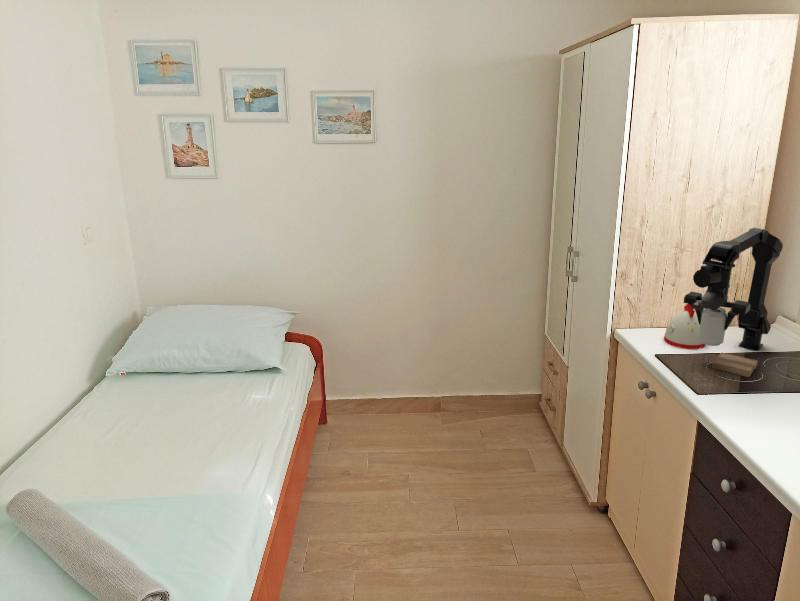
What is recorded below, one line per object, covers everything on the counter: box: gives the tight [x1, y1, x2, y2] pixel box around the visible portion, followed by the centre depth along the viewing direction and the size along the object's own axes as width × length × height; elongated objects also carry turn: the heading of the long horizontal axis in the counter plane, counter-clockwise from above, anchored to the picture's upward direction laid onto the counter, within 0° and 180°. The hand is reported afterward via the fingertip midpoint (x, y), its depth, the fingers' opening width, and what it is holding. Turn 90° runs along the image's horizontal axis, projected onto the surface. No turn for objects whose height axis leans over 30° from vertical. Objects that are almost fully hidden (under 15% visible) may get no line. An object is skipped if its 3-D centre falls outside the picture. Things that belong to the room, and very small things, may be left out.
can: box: [698, 307, 728, 347], centre depth 199 cm, size 8×8×12 cm
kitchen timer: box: [663, 303, 706, 350], centre depth 218 cm, size 14×14×15 cm
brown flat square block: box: [711, 352, 759, 378], centre depth 199 cm, size 11×11×2 cm
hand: (712, 327), depth 199 cm, fingers closed on can, 7 cm apart
